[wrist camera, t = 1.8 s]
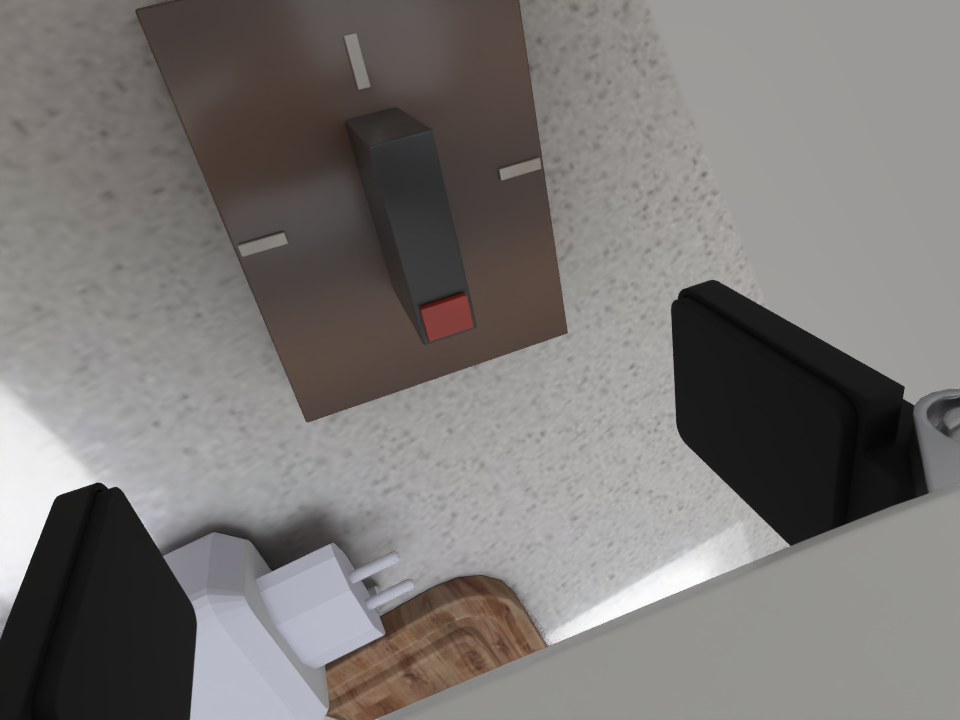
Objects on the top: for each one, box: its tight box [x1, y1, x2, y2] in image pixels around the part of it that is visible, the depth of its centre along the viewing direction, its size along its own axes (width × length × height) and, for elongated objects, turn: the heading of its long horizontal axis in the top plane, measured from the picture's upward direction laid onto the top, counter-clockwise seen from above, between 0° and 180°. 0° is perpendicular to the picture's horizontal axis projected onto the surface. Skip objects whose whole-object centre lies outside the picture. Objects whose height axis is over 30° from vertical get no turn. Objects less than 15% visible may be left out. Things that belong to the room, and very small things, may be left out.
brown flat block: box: [136, 0, 568, 422], centre depth 22 cm, size 13×10×3 cm
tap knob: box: [345, 107, 477, 345], centre depth 19 cm, size 6×2×4 cm, turn 12°
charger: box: [0, 532, 415, 720], centre depth 27 cm, size 5×9×15 cm
